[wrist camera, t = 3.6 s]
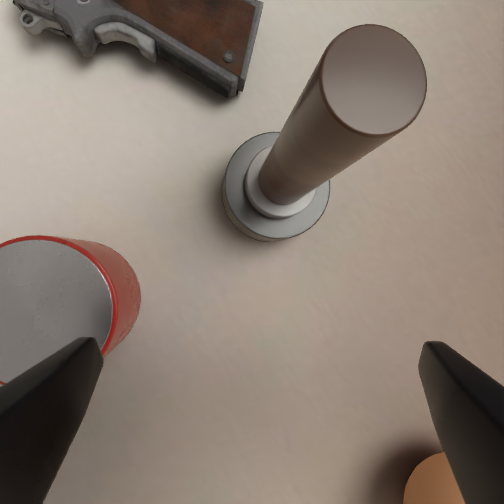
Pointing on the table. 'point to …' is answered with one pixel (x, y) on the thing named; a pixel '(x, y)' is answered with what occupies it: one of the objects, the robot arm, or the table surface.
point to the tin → (61, 298)
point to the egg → (432, 483)
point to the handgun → (160, 32)
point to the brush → (325, 132)
